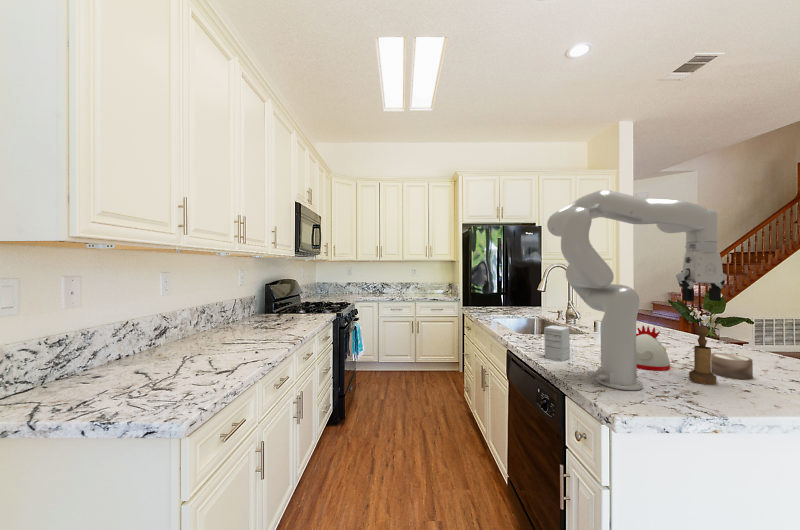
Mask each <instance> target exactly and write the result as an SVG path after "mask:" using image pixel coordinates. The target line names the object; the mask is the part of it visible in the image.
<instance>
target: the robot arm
mask: <svg viewBox="0 0 800 530" xmlns="http://www.w3.org/2000/svg"><path fill="white" fill-rule="evenodd" d="M597 218H605V219H609V220H613V221H618V222H622V223H627V224H630V225H631V224H632V225H654V224H655V225H656V227H657V228H658V229H659V230H660V232H663V233H666V234H677V233H678V234H679V233H685V246H684V247H685V252H684V257H683V262H682V263H683V264H682V271H680V272H679V273H677V274H676V275H675V276H676V279H677V283H678V285H680V288H681V289H682V301H683V302H694V301H695V289H694V288H693V287H695V285H696V284H697V283H698V284H708V286H709V288H708V300H709V301H713V302H714V301H716V302H721V301H722V289H723V288H724V284H726V279H727V277H728V275H727V274H726V273H725V272H723V271H724V269H723V262H722V257H721V254H720V252H719V250H718V212H717V211H716V210H715V209H712V208H710V209H708V208H706V207H705V206H703V205H702V204H698V203H695V202H694V203H693V202H689V201H685V200H676V199H664V198H663V199H662V198H651V197H650V198H647V197H640V196H635V195H630V194H627V193H624V192H623V193H622V192H619V191H613V190H609V189H600V190H597V191H596V190H595V191H593V192H591V193H588V194H585V195H583V196H581V197H578V198H577V199H576V200H574V201H572V202H571V203H570V204H567V205H566V206H563V208H561V209H558V210H557V211H555V212H554V213H552V214H551V215H550V216H549V217H548V219H547V222H546V227H547V230H548V232H549V233H550V235H553V236H554V237H555V236H556V237H560V250H561V253H562V257H564V259H565V260H566V262H567V263H568V265H567V266H566V268H565V279H566V281H567V283H568V284H569V285H570V287H571V288H572V289H573V290H574V292H576V294H577V295H578V296H579V298H580V299H581V300H582V301H583V302H584V303H585V305H587V306H588V307H589V308H590V309H593V310H594V311H598V312H602V313H603V316H602V319H601V322H600V327H599V328H600V367H599V366H598V367H597V369H596V370H595V371H593V370H591V371H587V372H586V375H587V377H588V378H593V379H594V378H595V381H596V382H597V383H598V384H600V385H602V386H605V387H608V388H612V389H615V390H621V391H639V390H642V389H643V388H644V383H643V382H642V381H641V380H640V379H638V372H637V371H638V368H637V354H636V333H637V319H638V313H639V309H640V306H641V302H640V300H641V299H640V296H639V294H638V293H637V291H636V290H635V289H633V288H632V287H630V286H627V285H623V284H615V283H613V281H614V272H613V270H612V268H611V266H610V265H608V263H607V262H606V261H605V260H604V258H602V256H601V255H600V254H599V253H598V252H597V250H596V249H595V248H594V247H593V245H592V243H591V240H590V229H591V226H592V220H594V219H597Z"/></svg>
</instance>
